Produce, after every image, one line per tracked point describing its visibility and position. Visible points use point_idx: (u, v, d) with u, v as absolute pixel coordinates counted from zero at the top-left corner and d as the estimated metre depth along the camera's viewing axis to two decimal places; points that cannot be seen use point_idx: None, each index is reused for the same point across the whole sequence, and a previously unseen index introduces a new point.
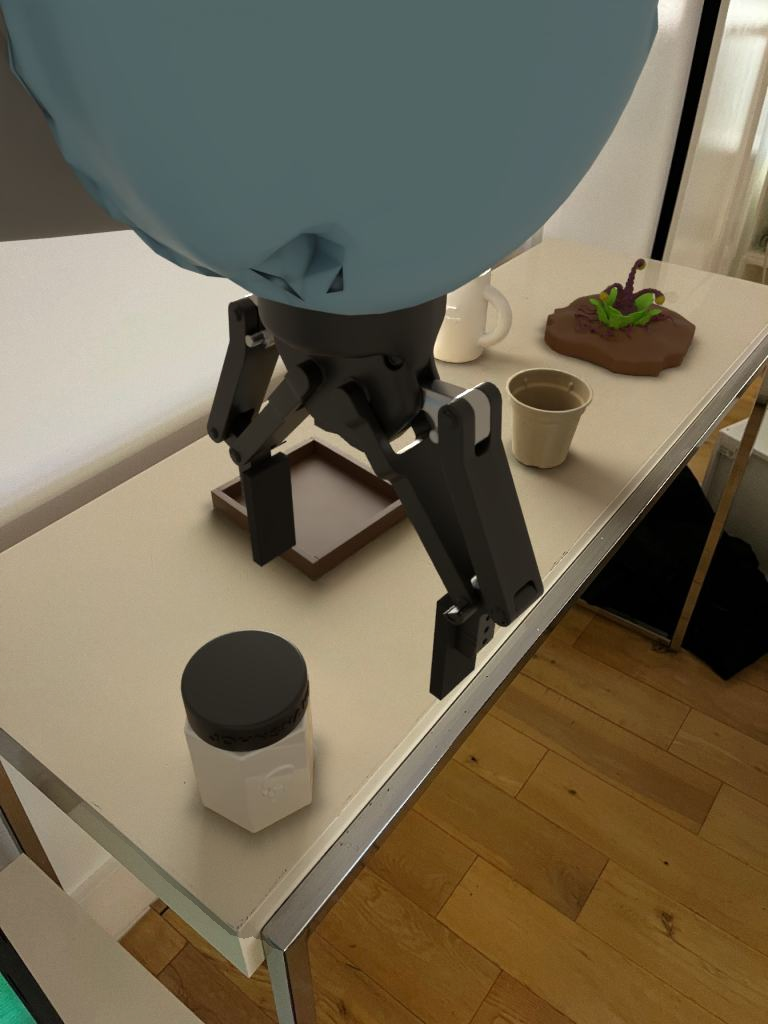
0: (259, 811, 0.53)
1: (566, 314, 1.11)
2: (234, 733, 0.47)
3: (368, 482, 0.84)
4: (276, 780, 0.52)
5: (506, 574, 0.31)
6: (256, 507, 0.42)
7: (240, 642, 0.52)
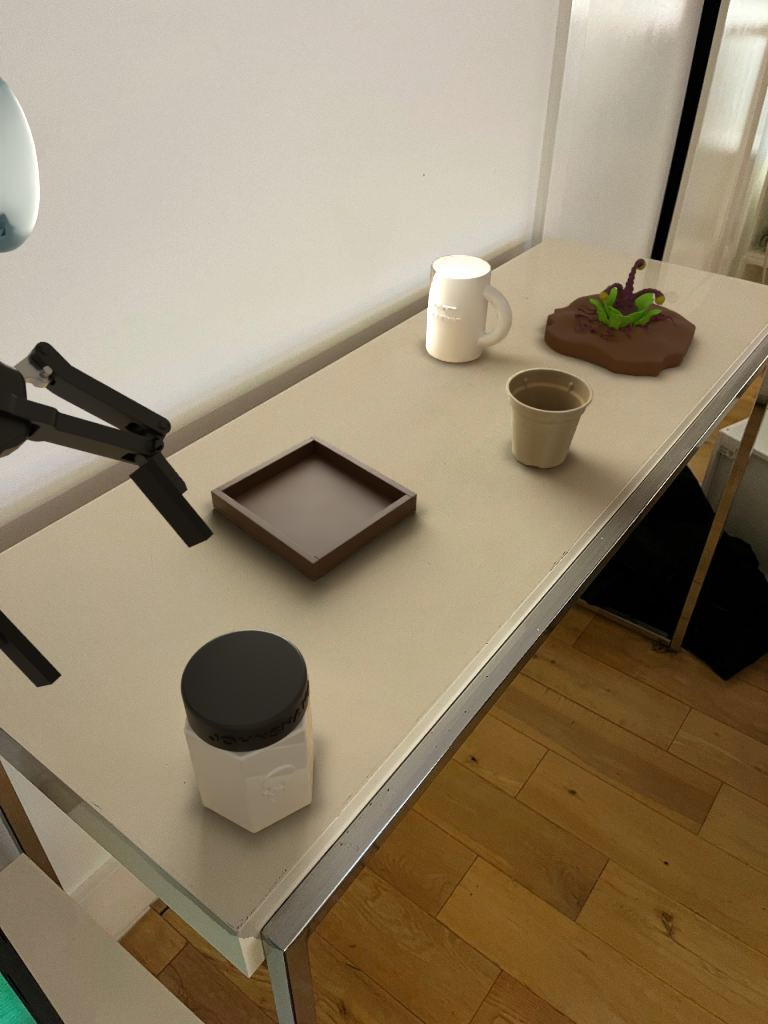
0: (259, 811, 0.53)
1: (566, 314, 1.11)
2: (234, 733, 0.47)
3: (368, 482, 0.84)
4: (276, 781, 0.52)
5: None
6: (7, 619, 0.44)
7: (240, 642, 0.52)
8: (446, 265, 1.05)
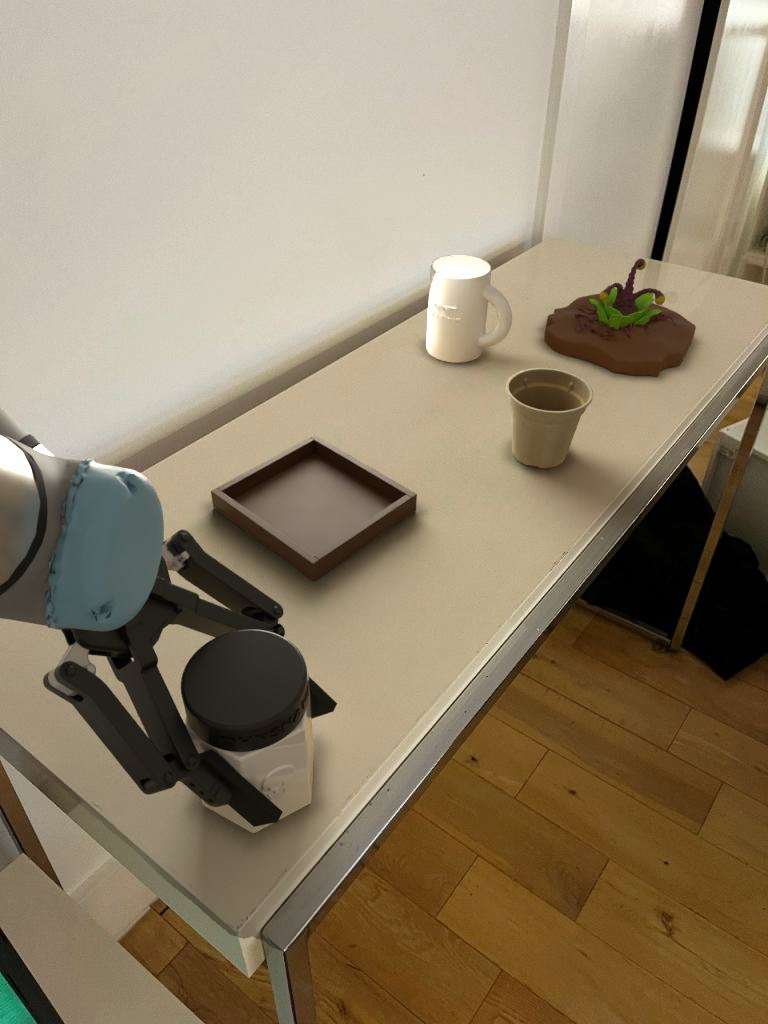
0: None
1: (566, 314, 1.11)
2: (234, 733, 0.47)
3: (368, 482, 0.84)
4: (276, 781, 0.52)
5: None
6: None
7: (240, 642, 0.52)
8: (446, 265, 1.05)
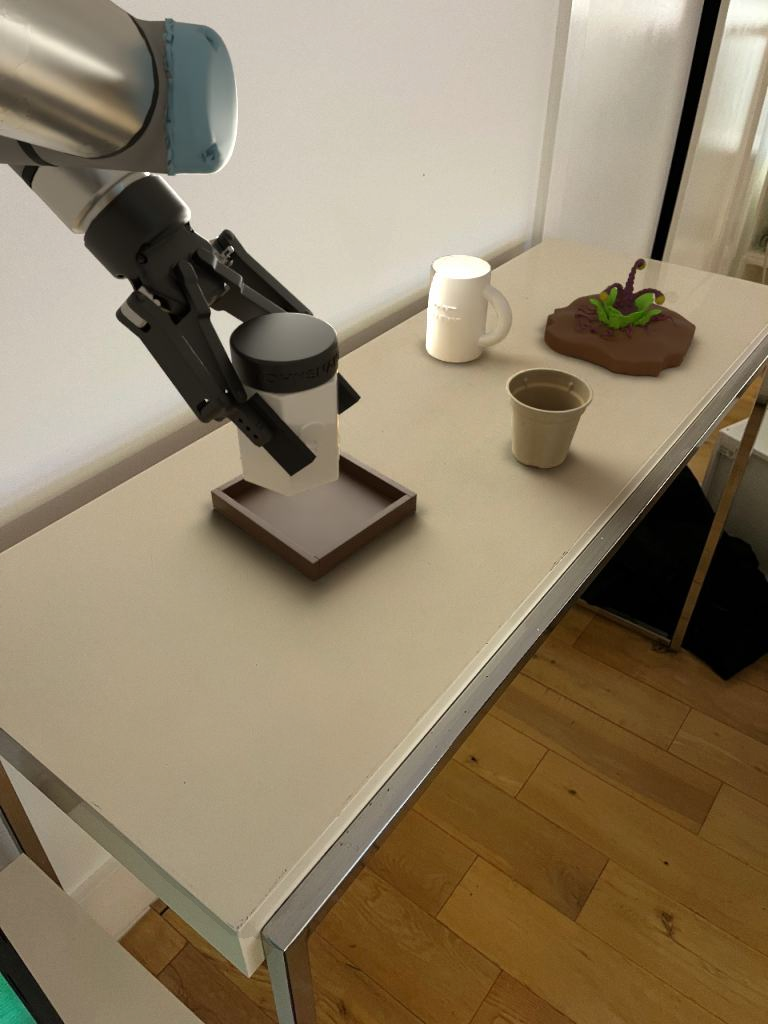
0: None
1: (566, 314, 1.11)
2: (277, 368, 0.55)
3: (368, 482, 0.84)
4: (310, 435, 0.60)
5: None
6: None
7: (279, 319, 0.60)
8: (446, 265, 1.05)
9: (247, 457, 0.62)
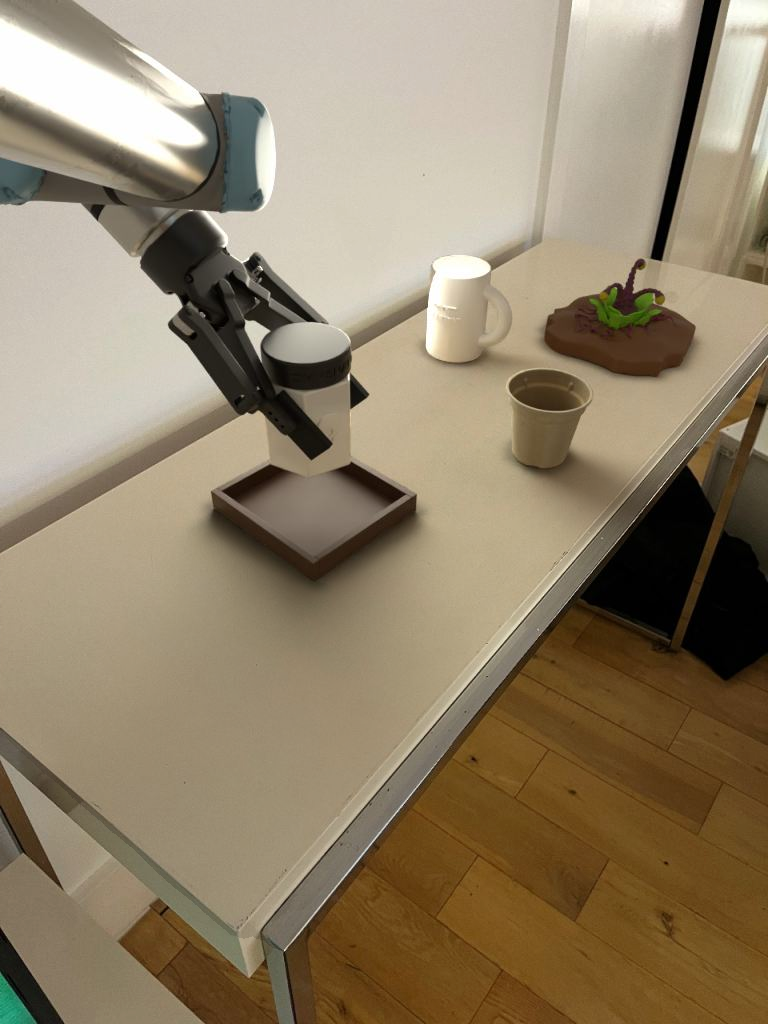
0: None
1: (566, 314, 1.11)
2: (301, 369, 0.66)
3: (368, 482, 0.84)
4: (327, 426, 0.71)
5: None
6: None
7: (301, 327, 0.71)
8: (446, 265, 1.05)
9: (273, 444, 0.73)
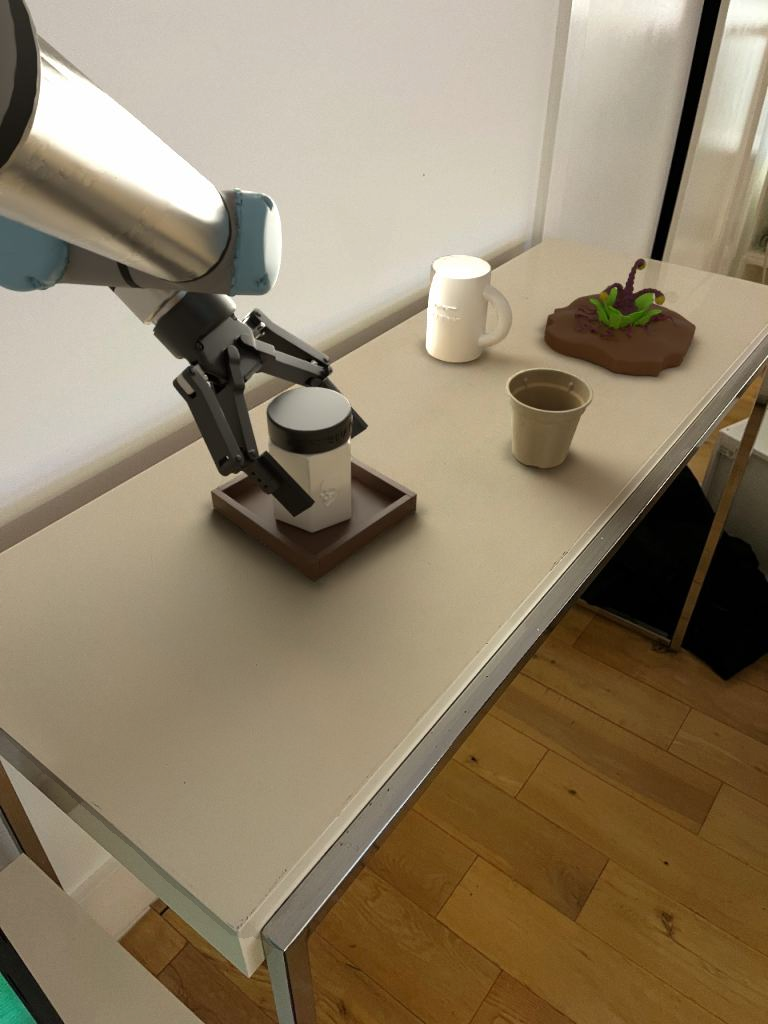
0: (317, 512, 0.76)
1: (566, 314, 1.11)
2: (305, 436, 0.71)
3: (368, 482, 0.84)
4: (330, 485, 0.75)
5: None
6: None
7: (304, 392, 0.76)
8: (446, 265, 1.05)
9: None
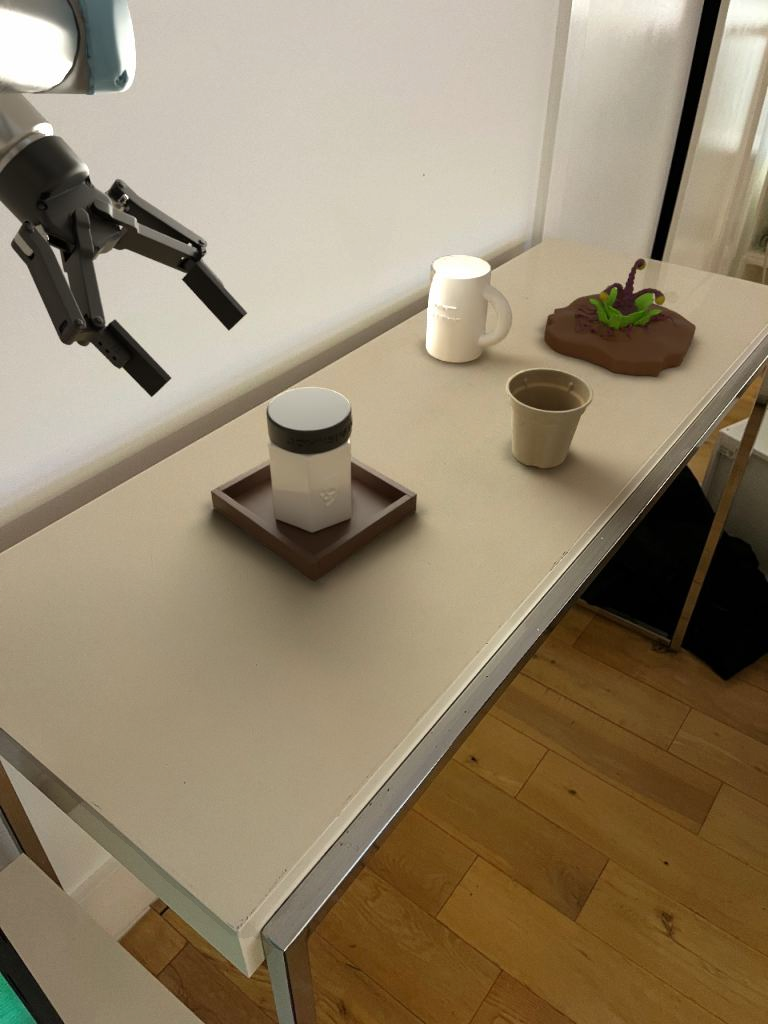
0: (317, 512, 0.76)
1: (566, 314, 1.11)
2: (305, 436, 0.71)
3: (368, 482, 0.84)
4: (329, 485, 0.75)
5: None
6: None
7: (304, 392, 0.76)
8: (446, 265, 1.05)
9: (279, 501, 0.78)
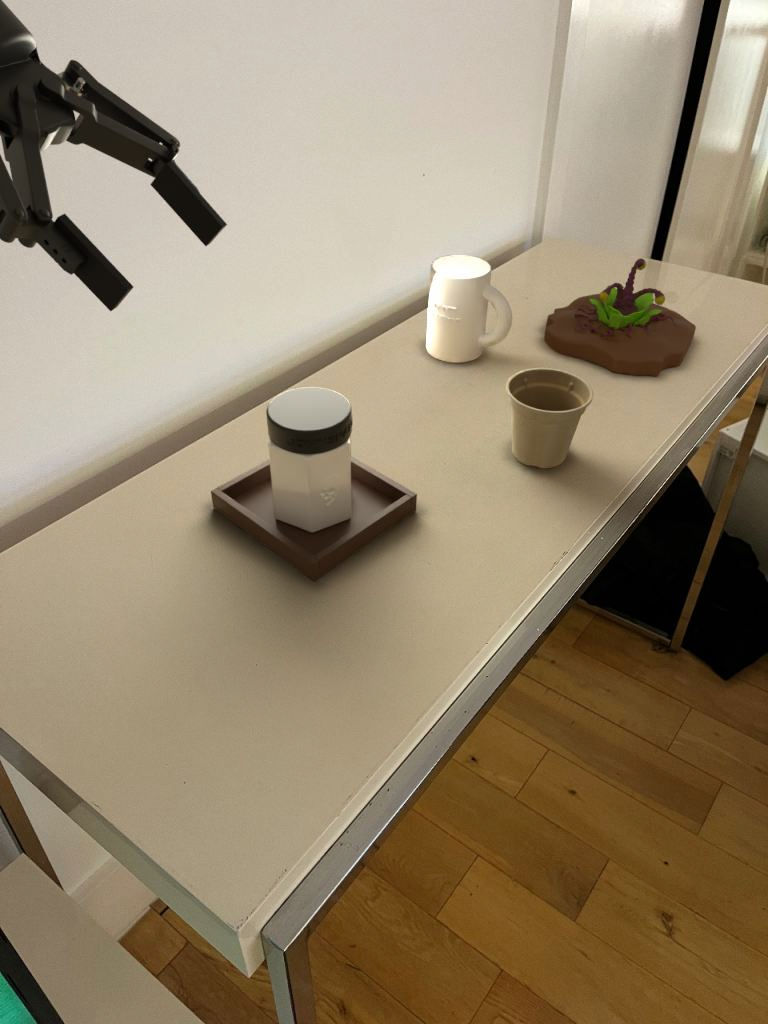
0: (317, 512, 0.76)
1: (566, 314, 1.11)
2: (305, 436, 0.71)
3: (368, 482, 0.84)
4: (329, 485, 0.75)
5: None
6: None
7: (304, 392, 0.76)
8: (446, 265, 1.05)
9: (279, 501, 0.78)
